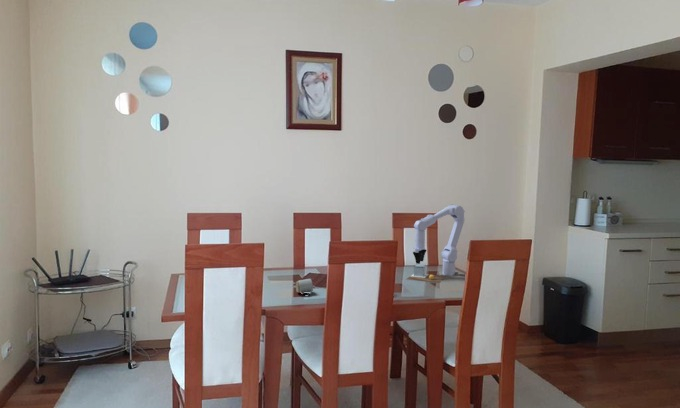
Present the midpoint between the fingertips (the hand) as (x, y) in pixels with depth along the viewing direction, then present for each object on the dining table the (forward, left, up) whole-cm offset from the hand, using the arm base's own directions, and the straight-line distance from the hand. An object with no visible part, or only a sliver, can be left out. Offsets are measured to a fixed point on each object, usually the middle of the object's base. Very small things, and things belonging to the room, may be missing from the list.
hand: (419, 262), depth 287 cm
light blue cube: (0, 0, -8) cm, 8 cm away
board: (+3, +5, -9) cm, 11 cm away
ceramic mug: (+62, -46, -10) cm, 77 cm away
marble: (+6, +9, -7) cm, 13 cm away
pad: (0, 0, -8) cm, 8 cm away
